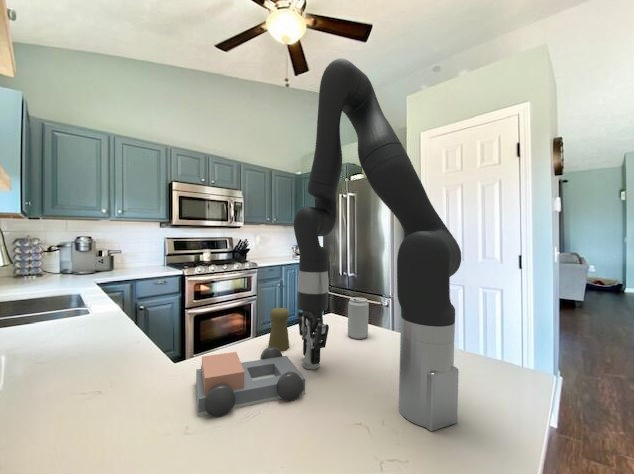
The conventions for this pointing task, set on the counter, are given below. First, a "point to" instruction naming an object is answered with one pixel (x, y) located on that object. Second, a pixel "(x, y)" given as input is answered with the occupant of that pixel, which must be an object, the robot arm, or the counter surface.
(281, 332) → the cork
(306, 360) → the rook chess piece
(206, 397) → the toy truck
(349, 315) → the beverage can
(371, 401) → the counter surface
